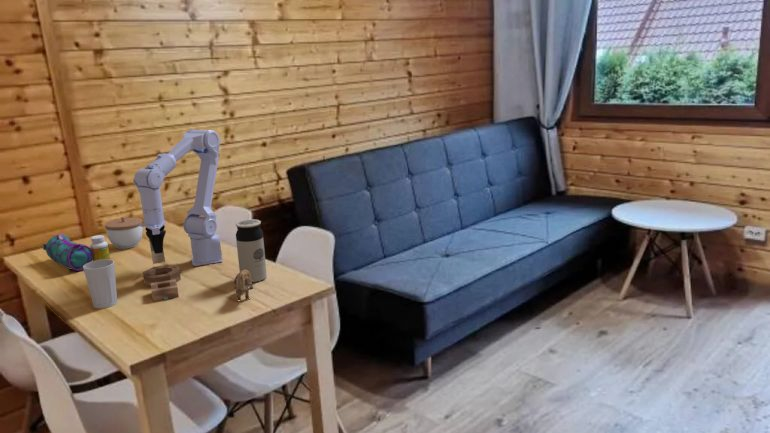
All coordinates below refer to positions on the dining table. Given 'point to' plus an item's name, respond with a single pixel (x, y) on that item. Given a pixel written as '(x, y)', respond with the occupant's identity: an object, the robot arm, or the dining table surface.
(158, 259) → the brown and teal block
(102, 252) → the supplement bottle
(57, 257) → the pencil case
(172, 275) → the brown faceted ring
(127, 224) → the lidded bowl
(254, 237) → the travel mug
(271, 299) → the dining table surface
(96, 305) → the cup
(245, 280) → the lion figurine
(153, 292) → the threaded bead
